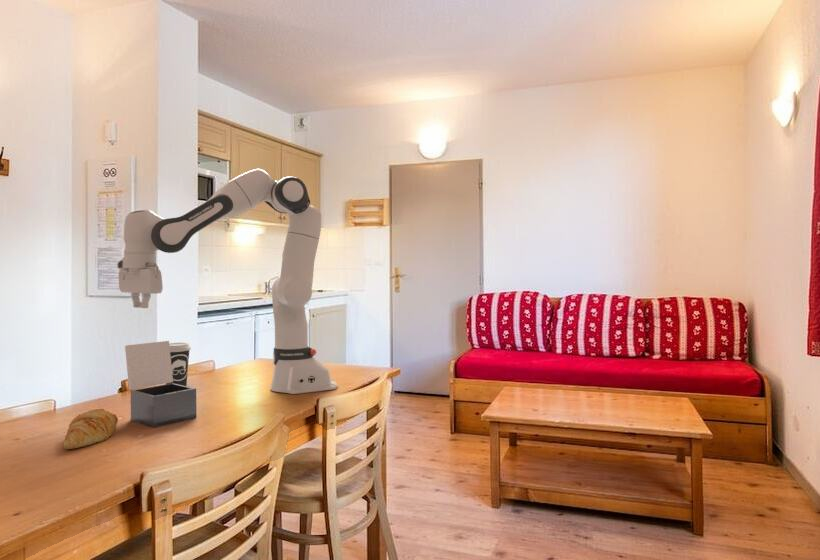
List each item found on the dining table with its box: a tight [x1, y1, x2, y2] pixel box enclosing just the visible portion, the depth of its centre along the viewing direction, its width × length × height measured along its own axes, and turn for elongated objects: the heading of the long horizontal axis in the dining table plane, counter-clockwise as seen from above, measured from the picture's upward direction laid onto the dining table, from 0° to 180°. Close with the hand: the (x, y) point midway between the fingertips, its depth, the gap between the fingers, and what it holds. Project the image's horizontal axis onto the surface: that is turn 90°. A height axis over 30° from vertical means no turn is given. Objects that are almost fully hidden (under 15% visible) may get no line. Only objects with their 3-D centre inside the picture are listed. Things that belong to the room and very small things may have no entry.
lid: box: [124, 340, 173, 391], centre depth 149 cm, size 12×12×2 cm
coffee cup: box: [165, 342, 192, 386], centre depth 185 cm, size 10×10×15 cm
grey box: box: [130, 383, 197, 428], centre depth 145 cm, size 12×12×8 cm
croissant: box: [63, 408, 119, 450], centre depth 128 cm, size 21×10×8 cm, turn 5°
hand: (140, 307), depth 163 cm, fingers open, 3 cm apart
